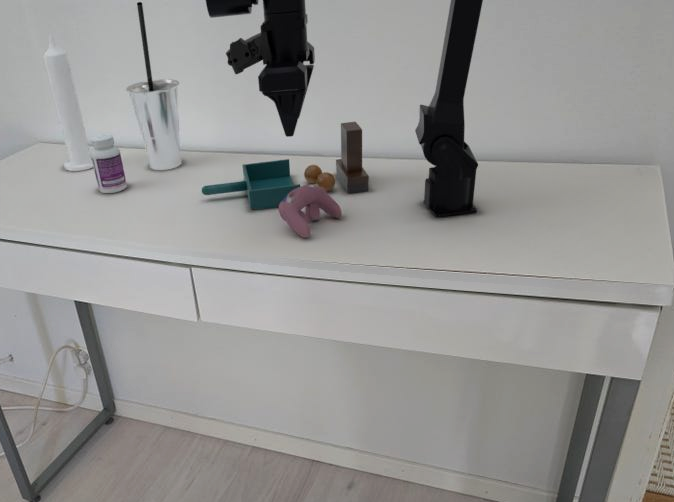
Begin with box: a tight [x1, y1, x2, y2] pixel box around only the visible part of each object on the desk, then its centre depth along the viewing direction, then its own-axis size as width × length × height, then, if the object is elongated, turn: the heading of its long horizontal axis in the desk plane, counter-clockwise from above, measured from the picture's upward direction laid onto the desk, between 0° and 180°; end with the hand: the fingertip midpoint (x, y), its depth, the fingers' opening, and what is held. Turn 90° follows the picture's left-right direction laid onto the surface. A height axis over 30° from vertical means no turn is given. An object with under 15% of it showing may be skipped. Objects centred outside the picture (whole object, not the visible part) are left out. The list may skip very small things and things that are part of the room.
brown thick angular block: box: [335, 121, 370, 194], centre depth 114 cm, size 4×10×10 cm, turn 5°
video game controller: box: [278, 183, 342, 239], centre depth 102 cm, size 10×5×7 cm, turn 141°
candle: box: [42, 34, 94, 172], centre depth 132 cm, size 7×7×25 cm
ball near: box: [315, 171, 336, 193], centre depth 114 cm, size 3×3×3 cm
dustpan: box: [201, 158, 301, 211], centre depth 115 cm, size 16×14×3 cm
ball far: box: [303, 164, 323, 185], centre depth 118 cm, size 3×3×3 cm
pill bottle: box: [90, 133, 128, 194], centre depth 123 cm, size 5×5×10 cm
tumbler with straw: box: [125, 1, 183, 171], centre depth 126 cm, size 11×11×30 cm
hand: (292, 127), depth 99 cm, fingers open, 9 cm apart
